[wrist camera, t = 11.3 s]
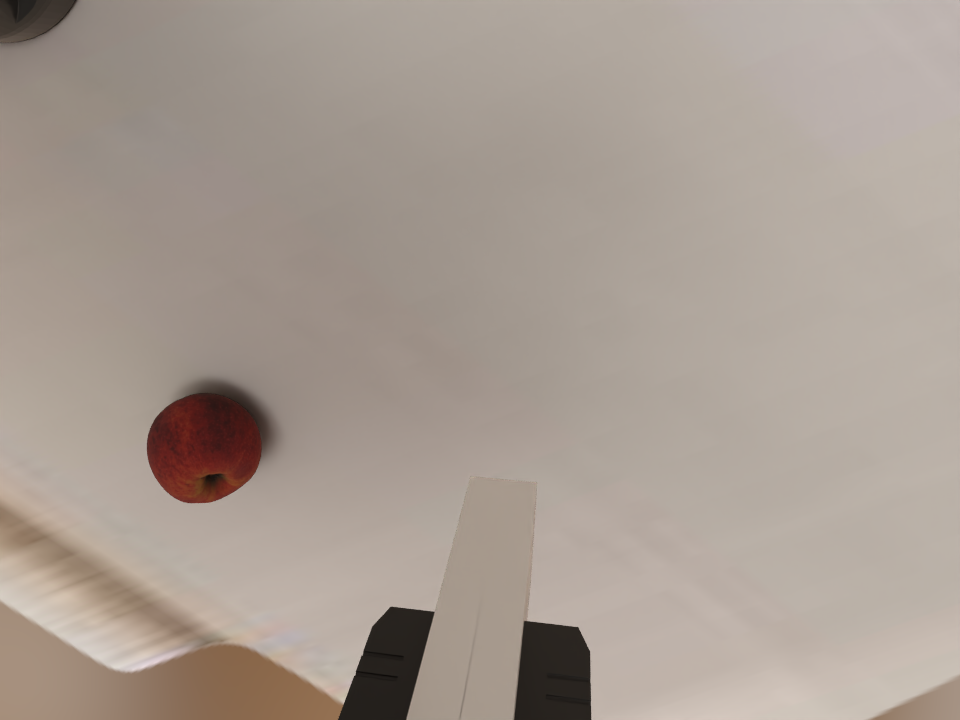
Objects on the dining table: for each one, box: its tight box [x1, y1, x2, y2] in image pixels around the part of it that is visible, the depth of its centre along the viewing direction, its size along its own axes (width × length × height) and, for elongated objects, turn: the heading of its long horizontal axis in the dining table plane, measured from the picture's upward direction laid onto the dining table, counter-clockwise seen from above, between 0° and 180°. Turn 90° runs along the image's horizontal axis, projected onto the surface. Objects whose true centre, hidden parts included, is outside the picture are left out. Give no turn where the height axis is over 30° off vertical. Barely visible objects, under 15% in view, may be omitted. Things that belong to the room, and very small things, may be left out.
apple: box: [147, 393, 261, 503], centre depth 48 cm, size 7×8×8 cm
